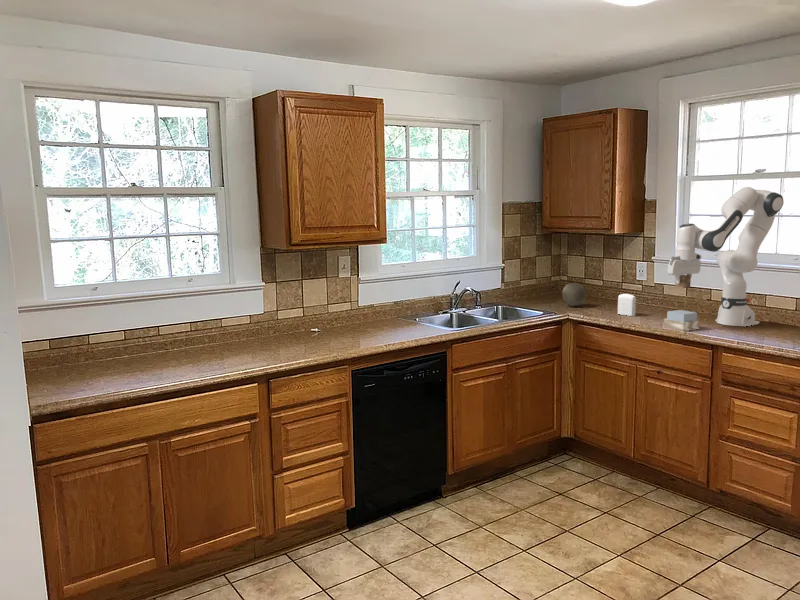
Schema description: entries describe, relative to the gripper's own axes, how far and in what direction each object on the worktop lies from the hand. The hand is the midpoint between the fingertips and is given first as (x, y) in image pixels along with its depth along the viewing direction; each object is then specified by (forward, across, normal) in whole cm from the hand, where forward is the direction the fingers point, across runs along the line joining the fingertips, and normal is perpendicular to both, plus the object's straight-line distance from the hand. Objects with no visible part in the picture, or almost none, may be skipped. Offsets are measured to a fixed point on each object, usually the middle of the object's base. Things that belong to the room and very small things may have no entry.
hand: (682, 283), depth 327 cm
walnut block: (+2, 0, 0) cm, 2 cm away
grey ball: (+24, -1, +78) cm, 81 cm away
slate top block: (+19, 0, -1) cm, 19 cm away
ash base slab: (+24, 0, -1) cm, 24 cm away
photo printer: (+24, +5, +41) cm, 48 cm away
